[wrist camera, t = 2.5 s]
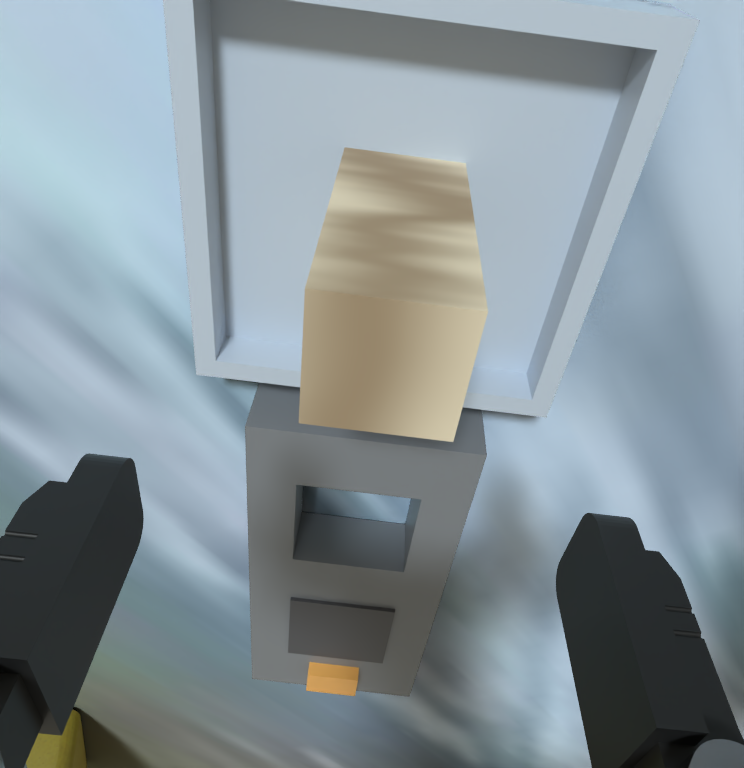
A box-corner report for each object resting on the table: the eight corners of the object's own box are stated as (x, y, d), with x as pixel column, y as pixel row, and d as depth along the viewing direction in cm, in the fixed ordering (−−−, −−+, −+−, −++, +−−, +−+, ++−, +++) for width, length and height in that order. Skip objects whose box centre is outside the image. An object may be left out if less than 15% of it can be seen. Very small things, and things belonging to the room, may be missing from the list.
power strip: (481, 407, 28) (488, 469, 25) (410, 651, 42) (409, 709, 39) (259, 380, 28) (240, 439, 25) (261, 634, 42) (249, 691, 39)
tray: (670, 4, 18) (699, 20, 16) (537, 378, 27) (546, 417, 25) (186, -62, 18) (158, -54, 16) (212, 338, 27) (196, 374, 25)
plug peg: (465, 163, 21) (488, 311, 14) (443, 270, 23) (453, 441, 16) (344, 147, 21) (304, 288, 14) (335, 256, 23) (298, 423, 16)
